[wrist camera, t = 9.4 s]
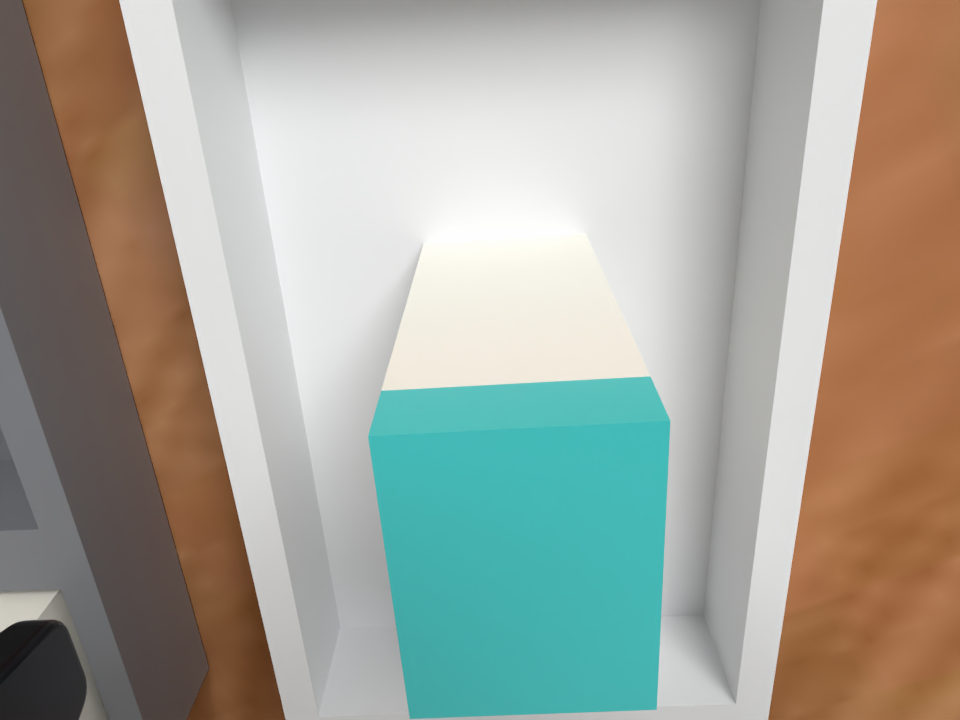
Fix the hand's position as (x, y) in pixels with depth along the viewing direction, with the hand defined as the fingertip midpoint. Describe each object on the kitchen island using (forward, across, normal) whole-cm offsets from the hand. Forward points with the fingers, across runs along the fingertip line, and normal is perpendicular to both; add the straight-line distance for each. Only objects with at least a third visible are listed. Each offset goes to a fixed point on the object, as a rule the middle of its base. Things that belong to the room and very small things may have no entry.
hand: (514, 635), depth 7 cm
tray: (+8, 0, 0) cm, 8 cm away
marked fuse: (+8, 0, 0) cm, 8 cm away
